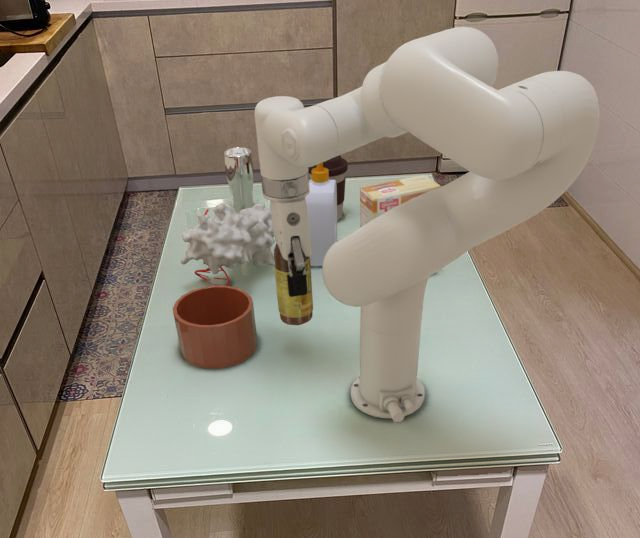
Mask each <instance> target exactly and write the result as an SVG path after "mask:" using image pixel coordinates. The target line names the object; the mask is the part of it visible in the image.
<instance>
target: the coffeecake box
mask: <svg viewBox="0 0 640 538" xmlns="http://www.w3.org/2000/svg"><path fill="white" fill-rule="evenodd" d="M440 187H441V185H440V184H439V183H438V182H436V181H434V179H432V178H431V177H430V176H429V175H427V174H420V175H415V176H410V177H405V178H404V177H403V178H399V179H395V180H389V181H385V182H379V183H375V184H369V185H363V186H360V187H359V228H360V227H362V226H364V225H365V224H367V223H369V222H370V221H372V220H373V219H375V218H377V217H378V216H380V215H382V214H384V213H385V212H387V211H389V210H391V209H393V208H395V207H397V206H399V205H401V204H403V203H405V202H407V201H409V200H411V199H413V198H415V197H417V196H419V195H421V194H423V193H426V192H429V191H431V190H434V189H437V188H440Z"/></svg>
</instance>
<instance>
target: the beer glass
mask: <svg viewBox="0 0 640 538" xmlns="http://www.w3.org/2000/svg"><path fill="white" fill-rule="evenodd" d="M223 157H224V171H225V177H226V181H227V184H228V188H229V190H230V195H231V201H232V205H231V206H232V207H233V208H234V209H235V212H236V213H237V214H239V213H240V211H241V210H242V209H247V208H252V207H253V206H254V205H255V204H256V203H255V201H254V177H255V175H254V174H255V172H254V171H255V170H254V162H253V157H252V150H251V149H250V148H247V147H242V146H241V147H239V146H237V147H231V148H228V149H226V150H225V151H224V152H223Z"/></svg>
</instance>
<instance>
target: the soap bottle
mask: <svg viewBox="0 0 640 538" xmlns="http://www.w3.org/2000/svg"><path fill="white" fill-rule="evenodd" d="M325 162H326V161H325ZM311 171H312V180H309V190H310V192H309V194H308V195H307V196H306V197H305V200H306V205H307V211H308V218H309V227H310V237H311V247H312V255H311V257H310V265H311V267H323V261H324V258H325V255H326V253H327V251H328V250H329V249H330V247H331V246H332V245H333V244H334V243H336V242H337V241H338V220H337V185H336V180H329V170H328V169H327V168H324V167H323V162H322V163H320V164H317V168H314V169H312V170H311Z"/></svg>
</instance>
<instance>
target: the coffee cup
mask: <svg viewBox="0 0 640 538" xmlns="http://www.w3.org/2000/svg"><path fill="white" fill-rule="evenodd" d="M323 167H324V168H327V169H328V170H329V180H336V185H337V221H339V220H340V219H341V218H342V217H343V215H344V202H345V197H346V196H345V195H346V181H347V180H346V172H347V171H348V167H349V164H348V161H347V160H346V159H345V158H344V157H342V155H339V156H336V157H334V158H331V159H329V160H327V161H326V162H323ZM314 168H317V165H315V166H312V167H308V172H309V180H312V171H311V170H312V169H314Z"/></svg>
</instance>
